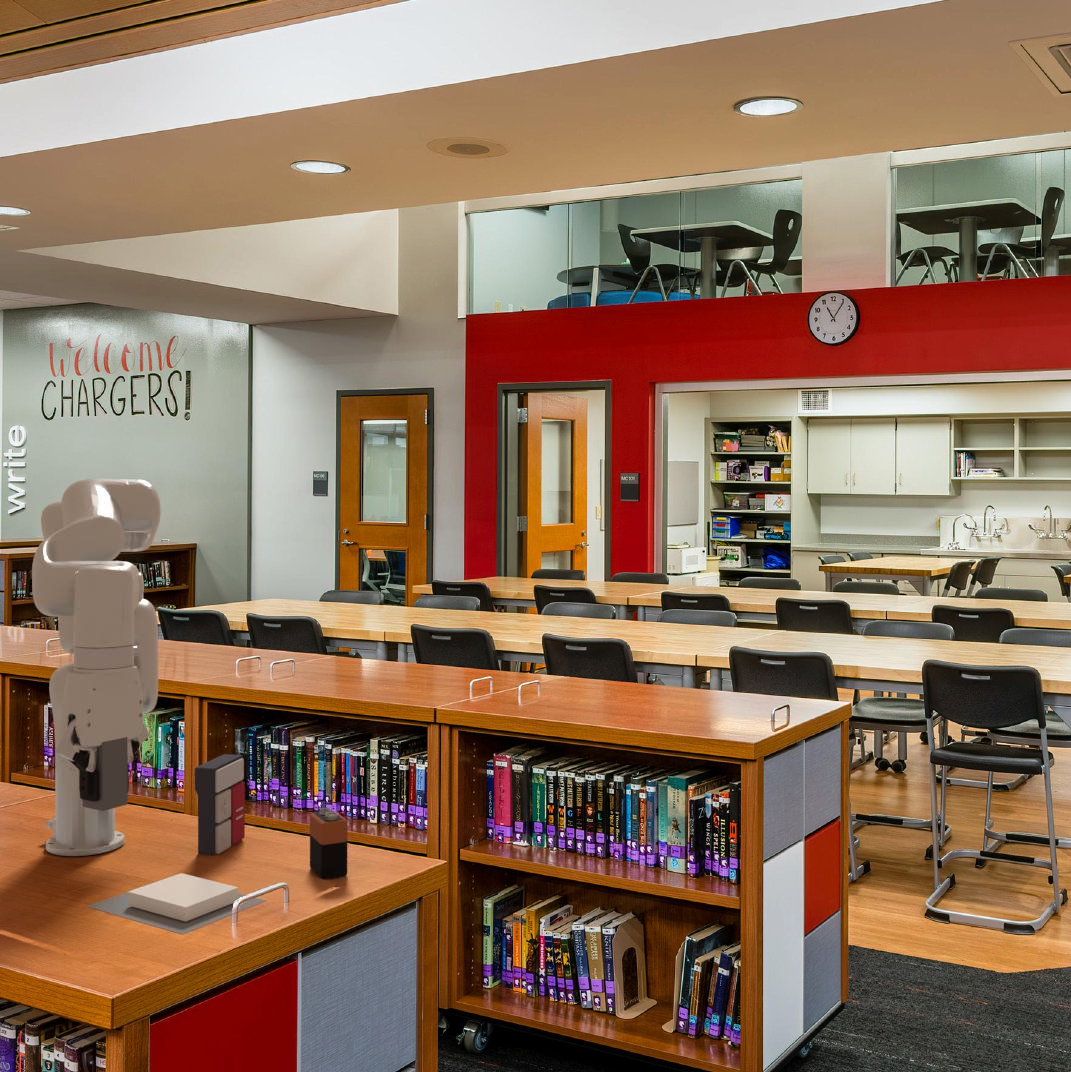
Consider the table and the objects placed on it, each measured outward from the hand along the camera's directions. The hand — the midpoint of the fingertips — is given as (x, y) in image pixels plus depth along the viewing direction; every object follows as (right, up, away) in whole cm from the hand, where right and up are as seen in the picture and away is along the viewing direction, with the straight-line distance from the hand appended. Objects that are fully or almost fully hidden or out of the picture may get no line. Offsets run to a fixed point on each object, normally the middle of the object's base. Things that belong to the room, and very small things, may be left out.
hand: (104, 794), depth 156 cm
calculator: (+3, -19, +45) cm, 49 cm away
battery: (+24, -20, +33) cm, 45 cm away
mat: (+5, -20, +17) cm, 26 cm away
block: (0, -1, 0) cm, 1 cm away
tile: (+1, -18, +19) cm, 26 cm away
